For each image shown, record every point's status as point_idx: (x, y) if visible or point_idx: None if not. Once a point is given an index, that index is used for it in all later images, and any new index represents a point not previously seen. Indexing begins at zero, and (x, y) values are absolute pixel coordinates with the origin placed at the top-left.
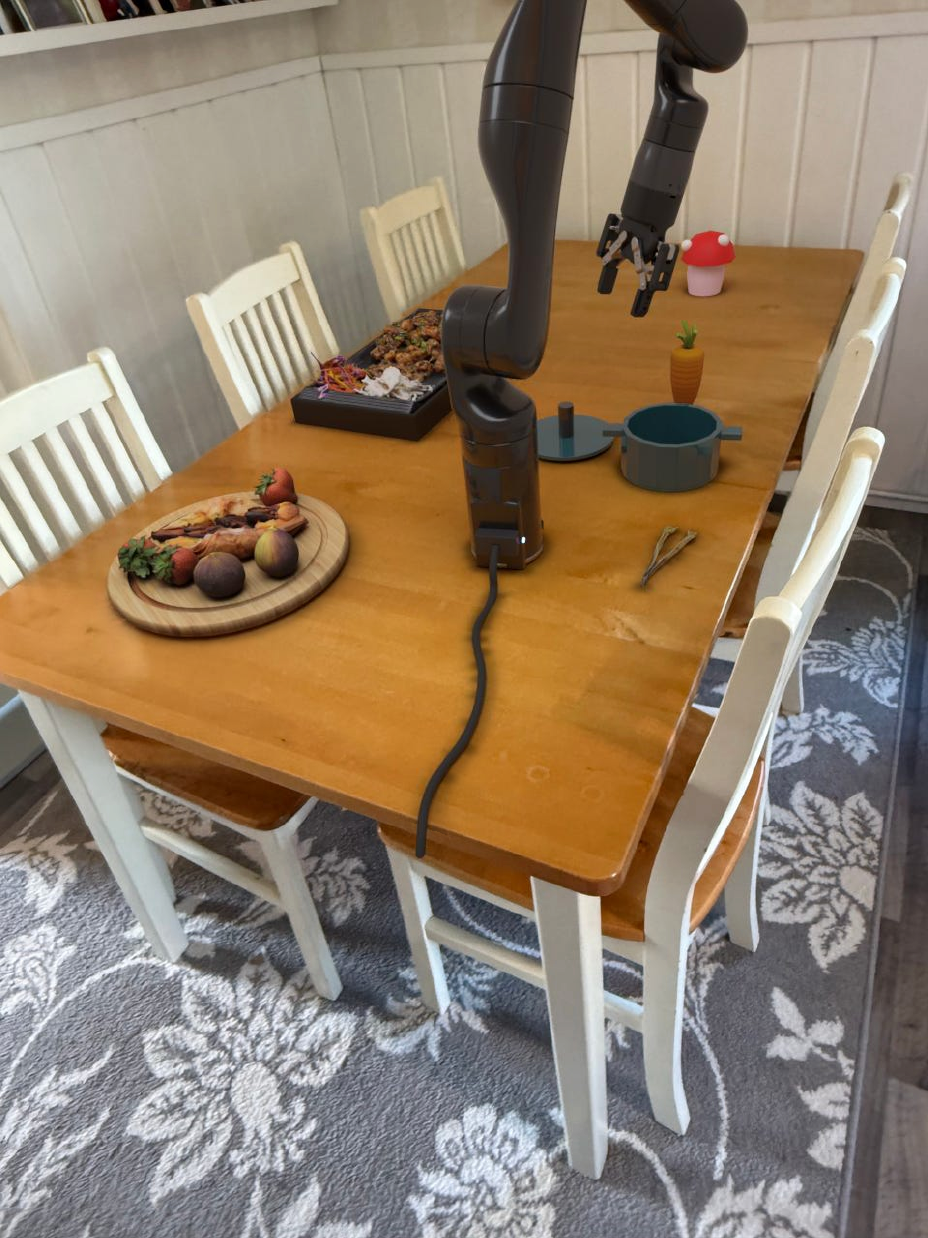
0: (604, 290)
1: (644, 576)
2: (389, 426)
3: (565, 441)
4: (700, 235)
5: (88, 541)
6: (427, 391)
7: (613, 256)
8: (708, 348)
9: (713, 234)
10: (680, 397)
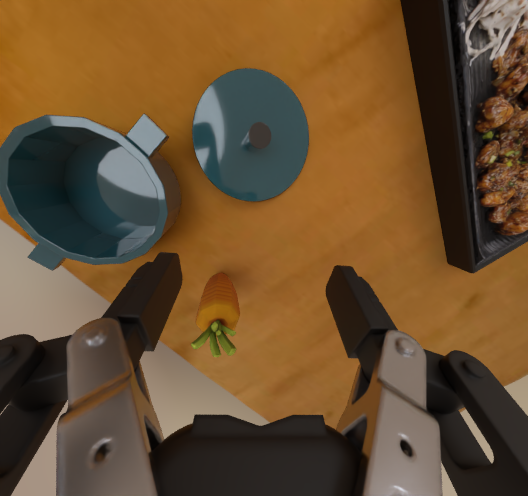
0: (335, 280)
1: None
2: None
3: (239, 128)
4: None
5: None
6: (466, 26)
7: (373, 389)
8: (310, 357)
9: None
10: (213, 278)
